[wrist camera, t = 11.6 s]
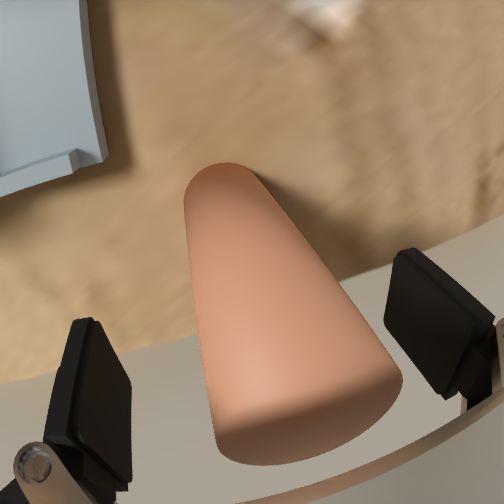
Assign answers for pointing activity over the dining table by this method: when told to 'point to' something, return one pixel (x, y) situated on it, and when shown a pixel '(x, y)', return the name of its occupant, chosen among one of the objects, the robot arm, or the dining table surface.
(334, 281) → the dowel
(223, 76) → the dining table surface
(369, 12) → the dining table surface
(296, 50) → the dining table surface
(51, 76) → the rail
